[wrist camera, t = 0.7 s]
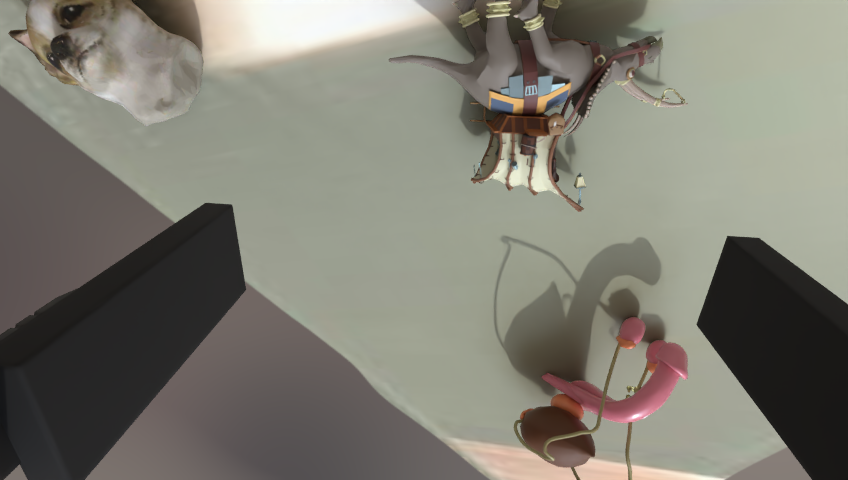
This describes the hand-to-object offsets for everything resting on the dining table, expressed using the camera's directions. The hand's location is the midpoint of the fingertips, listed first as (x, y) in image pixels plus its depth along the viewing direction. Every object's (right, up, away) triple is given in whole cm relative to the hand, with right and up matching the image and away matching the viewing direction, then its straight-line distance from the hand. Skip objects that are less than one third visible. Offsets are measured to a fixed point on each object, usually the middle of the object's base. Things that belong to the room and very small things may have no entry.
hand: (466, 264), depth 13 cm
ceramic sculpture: (-24, +16, +24) cm, 38 cm away
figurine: (+7, +11, +23) cm, 27 cm away
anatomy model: (+16, -12, +33) cm, 38 cm away
